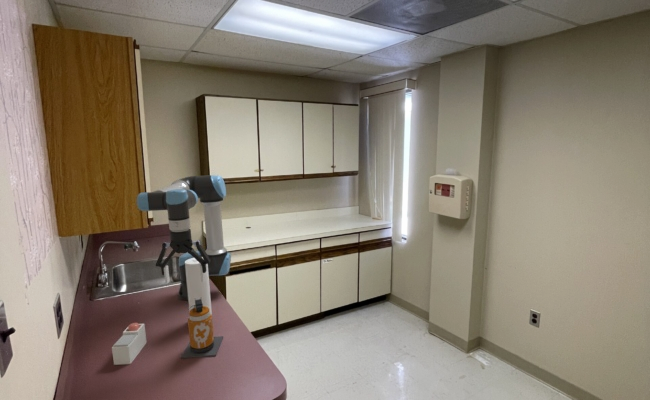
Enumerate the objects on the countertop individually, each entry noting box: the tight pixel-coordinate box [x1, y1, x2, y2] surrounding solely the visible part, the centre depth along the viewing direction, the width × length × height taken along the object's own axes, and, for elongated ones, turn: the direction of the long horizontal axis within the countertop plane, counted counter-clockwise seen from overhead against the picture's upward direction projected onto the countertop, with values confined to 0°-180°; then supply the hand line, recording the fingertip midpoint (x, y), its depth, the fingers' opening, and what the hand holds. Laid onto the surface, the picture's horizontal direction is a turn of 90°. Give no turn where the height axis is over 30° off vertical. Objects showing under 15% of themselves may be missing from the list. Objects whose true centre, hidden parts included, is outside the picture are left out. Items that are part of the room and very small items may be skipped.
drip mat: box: [180, 335, 224, 359], centre depth 139 cm, size 13×13×1 cm
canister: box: [187, 299, 215, 352], centre depth 137 cm, size 9×11×20 cm
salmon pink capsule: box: [127, 322, 140, 331], centre depth 139 cm, size 4×4×8 cm
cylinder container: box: [185, 257, 213, 316], centre depth 157 cm, size 9×9×30 cm
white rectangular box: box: [111, 323, 147, 366], centre depth 136 cm, size 14×6×8 cm, turn 4°
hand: (185, 281), depth 137 cm, fingers open, 13 cm apart
